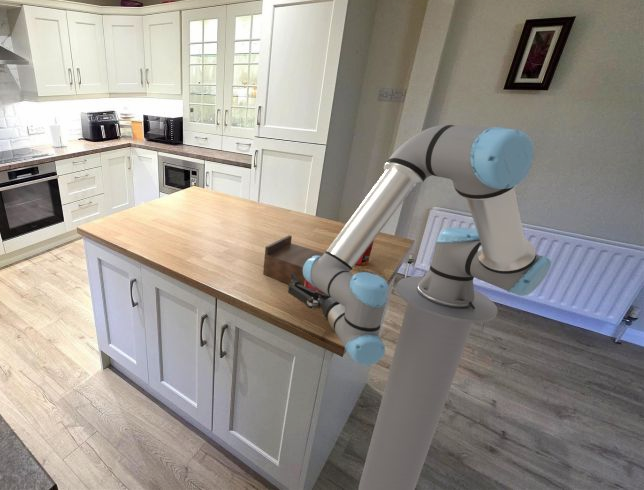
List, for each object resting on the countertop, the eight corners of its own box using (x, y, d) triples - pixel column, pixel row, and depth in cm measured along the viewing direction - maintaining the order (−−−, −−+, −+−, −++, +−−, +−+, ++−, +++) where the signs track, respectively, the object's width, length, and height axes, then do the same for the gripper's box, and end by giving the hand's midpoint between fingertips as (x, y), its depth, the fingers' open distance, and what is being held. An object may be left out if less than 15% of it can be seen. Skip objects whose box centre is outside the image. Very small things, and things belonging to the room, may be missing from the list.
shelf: (325, 274, 126) (329, 246, 122) (303, 290, 116) (307, 260, 112) (286, 261, 137) (289, 235, 133) (263, 274, 126) (265, 246, 122)
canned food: (365, 268, 131) (371, 242, 127) (343, 262, 136) (348, 236, 131) (370, 260, 137) (376, 235, 132) (348, 254, 141) (354, 230, 136)
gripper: (291, 326, 91) (273, 286, 111) (385, 326, 92) (350, 286, 112) (295, 302, 89) (275, 265, 108) (391, 301, 89) (354, 265, 109)
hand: (313, 276), depth 110 cm, fingers open, 13 cm apart
